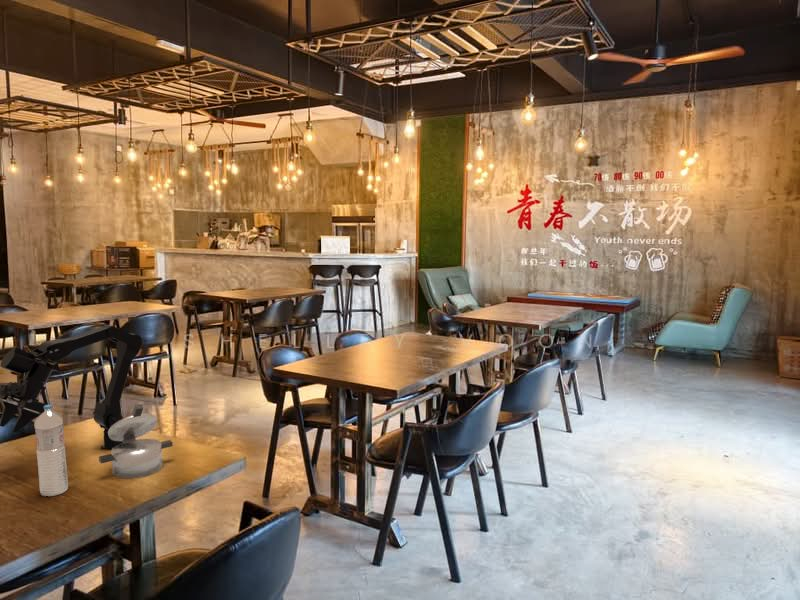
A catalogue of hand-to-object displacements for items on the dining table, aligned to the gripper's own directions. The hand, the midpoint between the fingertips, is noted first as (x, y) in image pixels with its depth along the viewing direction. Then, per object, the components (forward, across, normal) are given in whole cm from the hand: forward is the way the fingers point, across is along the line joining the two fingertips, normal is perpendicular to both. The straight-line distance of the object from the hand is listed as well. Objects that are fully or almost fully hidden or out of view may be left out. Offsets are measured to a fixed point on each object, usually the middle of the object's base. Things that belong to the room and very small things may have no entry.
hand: (7, 429), depth 168 cm
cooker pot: (-1, +25, +29) cm, 39 cm away
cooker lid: (-13, +25, +22) cm, 35 cm away
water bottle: (+11, +21, +10) cm, 26 cm away
